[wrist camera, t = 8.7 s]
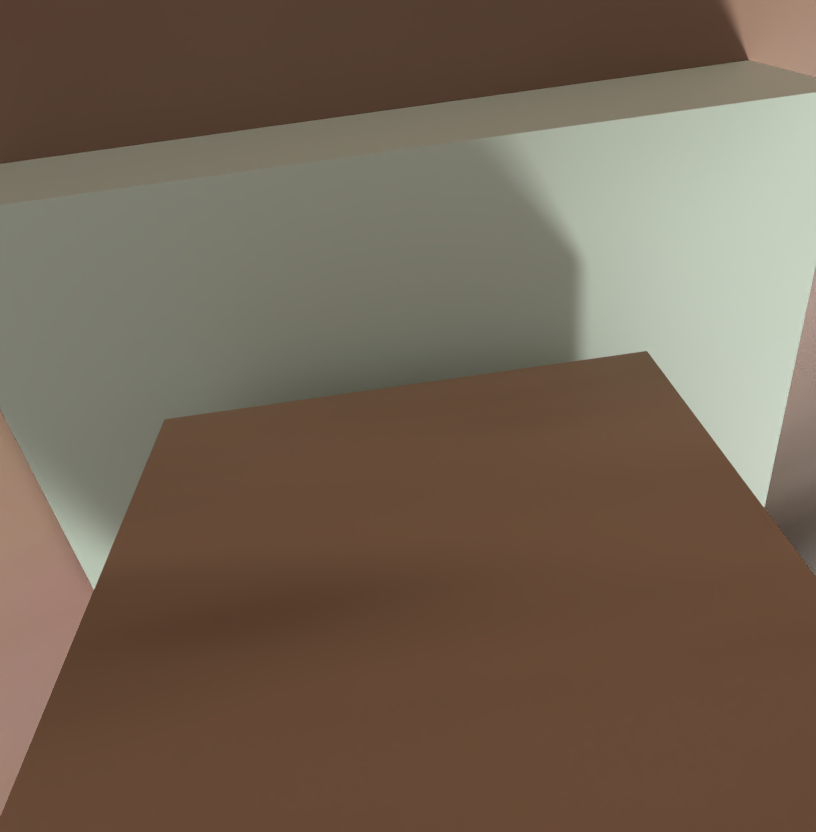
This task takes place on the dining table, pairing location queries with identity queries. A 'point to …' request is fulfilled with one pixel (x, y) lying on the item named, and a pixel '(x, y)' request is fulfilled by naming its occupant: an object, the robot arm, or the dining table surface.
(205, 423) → the walnut cube
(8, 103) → the dining table surface
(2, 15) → the dining table surface
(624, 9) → the dining table surface
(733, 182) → the base
